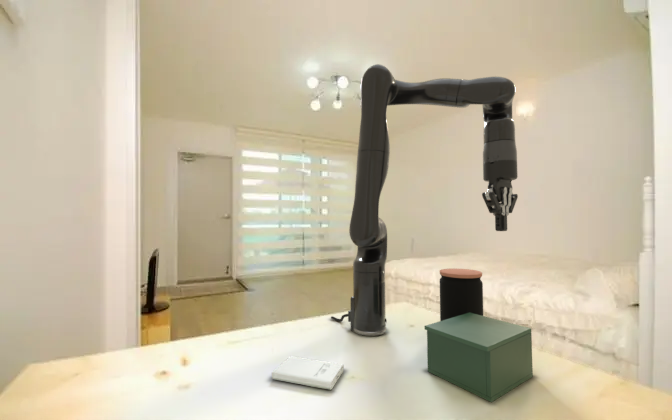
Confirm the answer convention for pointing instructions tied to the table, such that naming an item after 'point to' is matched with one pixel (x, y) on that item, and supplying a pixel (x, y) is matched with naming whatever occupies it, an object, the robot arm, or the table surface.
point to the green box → (481, 364)
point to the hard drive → (308, 372)
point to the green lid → (478, 330)
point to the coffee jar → (460, 293)
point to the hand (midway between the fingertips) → (501, 230)
